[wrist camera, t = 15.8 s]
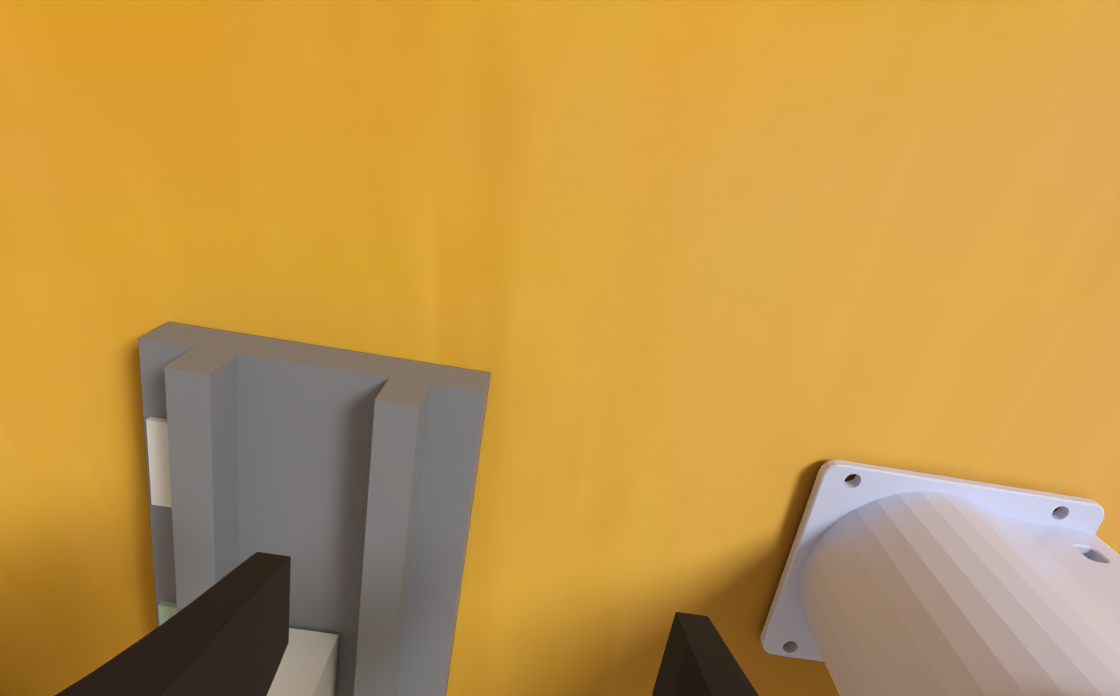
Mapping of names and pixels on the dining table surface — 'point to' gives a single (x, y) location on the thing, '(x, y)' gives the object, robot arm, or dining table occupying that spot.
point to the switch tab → (307, 665)
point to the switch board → (317, 489)
